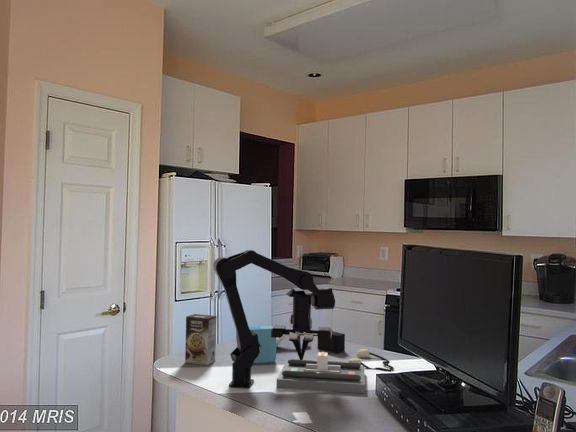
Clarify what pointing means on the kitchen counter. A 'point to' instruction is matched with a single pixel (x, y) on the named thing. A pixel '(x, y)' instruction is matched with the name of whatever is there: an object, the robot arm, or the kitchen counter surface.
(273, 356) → the data package
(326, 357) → the knob
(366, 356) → the cable
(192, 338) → the coffee box
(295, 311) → the robot arm
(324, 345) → the digital camera
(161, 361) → the kitchen counter surface
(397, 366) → the kitchen counter surface
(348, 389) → the panel
